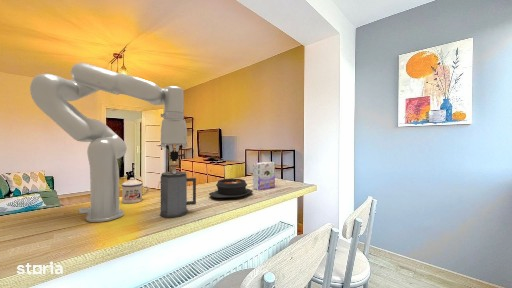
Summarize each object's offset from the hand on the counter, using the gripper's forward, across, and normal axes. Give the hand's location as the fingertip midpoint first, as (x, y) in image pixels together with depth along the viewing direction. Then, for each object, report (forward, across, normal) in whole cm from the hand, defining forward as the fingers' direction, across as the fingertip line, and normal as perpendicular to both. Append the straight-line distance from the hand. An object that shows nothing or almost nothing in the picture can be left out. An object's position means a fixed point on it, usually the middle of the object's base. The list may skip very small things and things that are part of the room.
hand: (174, 161), depth 95 cm
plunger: (+20, 0, 0) cm, 20 cm away
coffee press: (+22, +2, 0) cm, 22 cm away
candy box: (+22, +51, +37) cm, 67 cm away
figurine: (+22, -5, +19) cm, 30 cm away
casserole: (+22, +28, +23) cm, 43 cm away
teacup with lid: (+22, -20, +24) cm, 38 cm away
